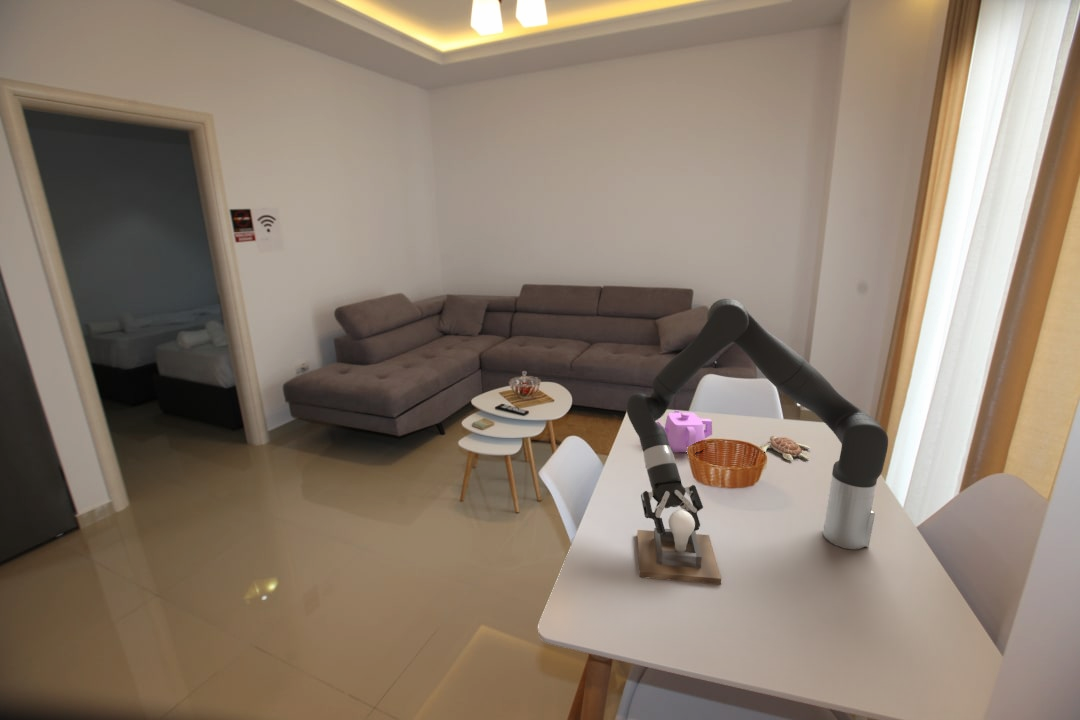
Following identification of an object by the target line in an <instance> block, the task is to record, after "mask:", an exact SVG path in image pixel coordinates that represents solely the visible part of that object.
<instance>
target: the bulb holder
mask: <svg viewBox="0 0 1080 720" xmlns="http://www.w3.org/2000/svg"><path fill="white" fill-rule="evenodd" d="M653 529H654V530H647V529H646V530H645V529H637V534H636V535H637V536H638V537H637V552H638V568H639V569H638V570H639V571H638V572H639V578H645V577H650V578H649V579H656V578H661V579H660V580H667V579H670V581H678V580H681V581H680V582H691V583H692V582H693V583H703V584H713V585H715V584H716V585H722V576H721V572H720V569H719V566H718V562H717V558H716V555H715V551H714V547H713V545H712V540H711V537H710V534H699V533H697V532H696V531H693V532H692V534H691V535H690V536H689V538H688V543H687V545H686V551H685V552H678V551H676V549H675V542H674V536H673V533H672V531H671V530H670V528H665V532H666V534H665V535H662V536H660V534H659V533H657V531H656V527H654V528H653Z"/></svg>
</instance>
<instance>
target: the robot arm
mask: <svg viewBox="0 0 1080 720" xmlns="http://www.w3.org/2000/svg"><path fill="white" fill-rule="evenodd" d="M706 320H707V321H706V323H704V326H703V327H702V329H701V330H700V331H699V333H698V334H697V335H696V336H695V337H694V339H693V340H692V341H691V342H690V343H689V344H688V345H687V346H686V347H685V348H684V349H682V350H681V352H679V353H678V354H677V355H675V356H674V357H673V358H672V359H671V360H669V361H668V363H666V365H664V367H663V368H662V369H661V370H660V371H659V372H658V373H657V374H656V375H655V376H654V378H653V379H652V381H651V388H652V390H653V391H652V393H651V394H650V395H648V394H645V393H643V392H642V393H641V392H636V393H633V394H631V395H630V396H629V397H628V398H627V401H626V406H625V407H626V408H625V409H626V413H627V417H628V418H629V421H630V424H631V425H632V427H633V429H634V432H635V433H636V435H637V436H638V437H639V442H640V446H641V450H642V453H643V459H644V464H645V467H644V468H645V469H646V472H647V476H648V480H649V483H650V488H651V491H647V490H644V491H643V492H642V493H641V494H640V499H641V504H642V508H643V514H644V517H645V518H646V519H652V520H653V523H654V526H655V527H654V528H656V531H657V533H659V534H660V536H662V535H665V534H666V532H665V529H666V528H665V526H664V522H663V521H664V520H663V518H662V517H661V516H662V512H663V511H664V509H670V508H678V507H680V509H681V510H684V511H687V512H688V513H690V514H691V515H692V517H693V518H694V521H695V528H694V531H695V532H696V531H698V530H699V529H700V527H701V523H700V519H699V516H698V512H699V511H701V510H702V509H704V506H703V503H702V501H701V497H700V495H699V492H698V489H697V487H696V485H694V484H692V485H690V486H687V487H686V486H683V484H682V483H683V482H682V478H681V476H680V472H679V468H678V465H677V462H676V458H675V456H674V452H673V451H672V450H671V448H670V445H669V442H668V438H667V435H666V432H665V430H664V428H665V427H664V426H663V427H664V428H663V427H661V426H660V425H658V424H657V423H656V422H657V421H659V420H660V419H661V418H662V417H663V416H664V415H665V413H666V412H667V410H668V408H669V406H670V404H671V403H672V401H673V399H674V397H675V396H676V395H677V394H678V393H679V392H680V391H681V390H682V389H683V388H684V387H685V386H686V385H687V384H688V383H689V382H690V380H692V379H693V377H694V376H695V375H696V374H697V373H698V372H699V371H700V370H701V369H702V368H703V367H704V366H705V365H706V364H708V362H709V361H710V360H711V359H712V358H714V357H715V356H717V354H718V353H720V352H721V351H722V350H724V349H725V348H726V347H727V346H729V345H730V344H732V343H733V344H734V345H736V346H737V347H738V348H740V349H741V350H742V351H743V352H744V353H745V354H746V356H748V357H749V358H750V360H751V361H752V362H753V364H754V365H755V366H756V367H757V368H758V370H759V371H760V373H762V375H764V377H765V378H766V379H767V380H768V381H769V382H770V383H771V384H772V385H773V386H774V387H775V388H776V389H778V390H779V391H780V392H781V393H782V394H783V395H785V396H786V397H787V398H788V399H790V400H791V401H792V402H795V403H797V404H798V405H800V406H801V407H804V408H805V409H808V410H809V411H811V412H812V413H813V414H815V415H816V416H817V417H818V418H819V419H821V421H822V422H824V424H825V425H826V426H827V427H828V428H829V429H830V430H831V432H832V433H834V435H835V436H836V438H837V439H838V440H839V442H840V443H841V448H840V449H841V450H840V453H839V459H838V460H836V461H835V462H834V464H833V466H832V472H831V479H830V487H829V493H828V499H827V505H826V511H825V518H824V524H823V530H822V535H823V536H824V538H825V539H826V540H827V541H829V542H830V543H831V544H833V545H835V546H838V547H841V548H843V549H847V550H861V549H862V548H869V547H870V542H871V537H872V532H873V526H874V521H875V516H876V513H875V512H874V511H873V505H874V498H875V492H876V487H877V481H878V479H879V478H880V476H881V474H882V473H883V470H884V469H883V468H884V466H885V462H886V459H887V457H886V456H887V452H888V447H889V437H888V434H887V431H886V430H885V429H884V428H883V427H882V426H881V425H880V424H879V422H877V420H875V418H874V417H872V416H871V415H869V414H868V413H867V412H865V411H863V410H862V409H860V408H859V407H858V406H856V405H854V404H853V403H852V402H851V401H849V400H848V399H846V398H845V397H844V396H842V395H841V394H840V393H839V392H838V391H837V390H836V389H835V388H834V387H833V386H832V385H831V384H830V382H829V381H828V379H826V378H825V377H824V376H823V374H821V372H820V371H818V369H816V368H815V367H814V365H812V364H811V363H810V362H809V361H807V360H806V359H805V358H804V357H803V356H801V355H800V354H798V352H796V351H795V350H794V349H793V348H791V347H790V346H788V345H787V344H786V343H785V342H784V341H782V340H780V339H779V338H777V337H776V336H774V335H773V334H772V333H770V332H769V331H768V330H767V329H766V328H764V326H763V325H761V324H760V322H759V321H758V320H756V318H754V316H753V315H752V314H751V313H750V312H749V311H748V309H746V308H745V306H744V305H743V304H742V303H741V302H740V301H738V300H736V299H733V298H722V299H718V300H717V301H715V302H713V303H712V304H711V306H710V307H709V310H708V312H707V319H706ZM686 494H687V496H689V498H690V500H689V499H687V497H685V495H686ZM652 498H653V499H652ZM652 500H655V501H656V502H657V503H656V504H655V507H654V512H653V508H652V504H651V501H652Z"/></svg>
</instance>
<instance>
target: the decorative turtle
mask: <svg viewBox="0 0 1080 720" xmlns="http://www.w3.org/2000/svg"><path fill="white" fill-rule="evenodd" d="M769 441H770V442H767V443H764V444H761V445H760V446H759V448H761V449H763V450H764V451H765V453H764V454H766V452H767V450H768V448H770V447H771V448H772V449H773V450H774V451H776V452H778V453H779V454H780V455H782V457H783V458H784V459H785V460H787V461H793V460H794V458H793V457H797V456H801V457H802V458H804V459H806V460H809V459H810V456H809V455H808V453H805V452H803V449H802V448H804V449H807V450H810V449H811V447H810V446H808V445H806V444H803V443H801V442H796V441H794V440H792V439H790V438H788V437H783V436H781V437H780V436H779V437H777V436H776V435H771V436H770V437H769Z"/></svg>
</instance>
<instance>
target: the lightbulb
mask: <svg viewBox="0 0 1080 720" xmlns="http://www.w3.org/2000/svg"><path fill="white" fill-rule="evenodd" d="M667 523H668V527H669V528H668V529H670V530H671V531H672V533H673V536H674V542H675V549H676V551H678V552H685V551H686V545H687V543H688V538H689V536H690V535H691V534H692V532H693V531H694V528H695V521H694V518H693V517H692V515H691V514H690V513H688V512H687V511H685V510H684V509H678V510H675V511H673V512H672V513H671V514H670V515H669V518H668V522H667Z"/></svg>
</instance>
